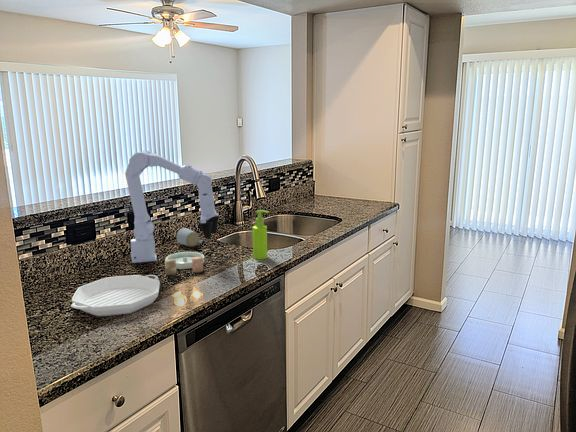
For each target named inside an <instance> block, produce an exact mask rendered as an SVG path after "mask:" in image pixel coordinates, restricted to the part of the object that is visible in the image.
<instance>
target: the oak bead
mask: <svg viewBox="0 0 576 432" xmlns="http://www.w3.org/2000/svg"><path fill="white" fill-rule="evenodd" d="M164 270H165V271H164V272H165V275H166V276H173V275H174V276H175V275H176V274H177V269H176V260H175V259H167V260H166V259H165V260H164Z"/></svg>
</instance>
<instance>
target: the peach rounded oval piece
mask: <svg viewBox="0 0 576 432" xmlns="http://www.w3.org/2000/svg"><path fill="white" fill-rule="evenodd" d="M191 269H192V273H202V272H204V263H203V257H193V258H192V268H191Z"/></svg>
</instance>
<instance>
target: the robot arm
mask: <svg viewBox="0 0 576 432" xmlns="http://www.w3.org/2000/svg"><path fill="white" fill-rule="evenodd" d="M128 161H129V162H128V165H127V168H126V169H125V172H124V173H125V178H126V183H127V187H128V193H129V197H130V202H131V206H132V211H133V216H134V221H133V224H134V228H133V236H134V238H133V239H130V250H131V251H130V258H131V263H132V264H135V263H137V264H138V263H147V262H148V263H149V262H157V261H158V260H157V254H156V246H155V236H154V234H153V232H154V231H155V224H154V222H153V221H152V219H151V217H150V214H149V213H148V209H147V205H146V199H145V195H144V192H143V191H144V190H143V187H142V182H141V178H140V177H141V175H142V173H143V172H144V171H145V169H147V168H148V167H151V168H152V167H160V168H162V169H165V170H167V171H170V172H172V173H175V174H177V175H178V179H181V180H183V181H185V182H187V183H190V184H192V185H195V186H196V187H197V188H198V198H199V199H198V200H199V208H200V218H199V219H200V220H199V221H198V222H197V224H198V226H199V228H200V229H201V231H202V233H203V236H204V238H205V240H211V239H212V235H213V234H215V235H216V234H217V232H218V224H219V221H220V220H219V219H220V217H221V216H220V215H219V213H218V212H217V210H216V206H215V197H214V191H213V186H212V184H213V179H212V176H211V175H210V174H209V173H207V172H203V171H202V170H200V171H199V170H197V169H195V168H194V167H192V165H190V164H188V165H187V164H184V165H179V164H177V163H175V162H173V161H171V160H170V159H167V158H165V157H164V156H161V155H159V154H157V153H154V152H151V151H149V150H141V151H139V152H135V153H134V154H133V155H132V156H131V157H130V158H129V160H128Z"/></svg>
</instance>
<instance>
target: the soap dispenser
mask: <svg viewBox="0 0 576 432" xmlns="http://www.w3.org/2000/svg"><path fill="white" fill-rule="evenodd" d="M255 213H257V217H256V218H255V225H253V226H252V258H253V259H255V260H265V259H267V258H268V226H267V225H265V220H264V219H265V218H264V217H263V216H262V214H264V213H265V214H269V213H270V211H269V210H265V209H258V210H255Z"/></svg>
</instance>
